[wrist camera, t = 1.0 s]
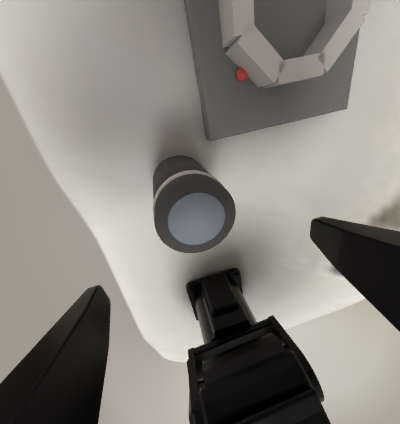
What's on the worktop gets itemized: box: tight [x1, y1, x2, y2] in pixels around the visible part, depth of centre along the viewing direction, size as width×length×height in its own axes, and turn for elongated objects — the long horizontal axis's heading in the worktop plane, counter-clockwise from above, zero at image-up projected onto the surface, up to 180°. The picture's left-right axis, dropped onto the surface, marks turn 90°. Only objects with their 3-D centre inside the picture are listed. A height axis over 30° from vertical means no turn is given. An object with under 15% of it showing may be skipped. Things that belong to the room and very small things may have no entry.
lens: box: [153, 156, 236, 253], centre depth 14 cm, size 5×5×7 cm
